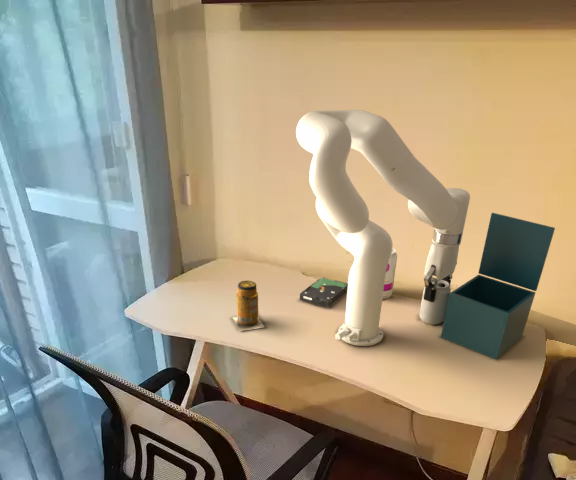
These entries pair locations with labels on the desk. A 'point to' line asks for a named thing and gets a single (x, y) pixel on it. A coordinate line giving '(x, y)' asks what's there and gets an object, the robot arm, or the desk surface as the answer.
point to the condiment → (247, 306)
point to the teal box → (487, 315)
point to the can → (436, 304)
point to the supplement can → (390, 275)
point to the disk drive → (324, 292)
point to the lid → (515, 250)
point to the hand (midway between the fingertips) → (436, 295)
